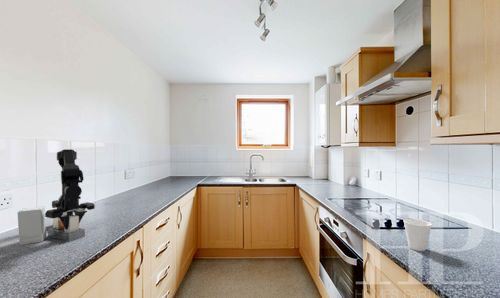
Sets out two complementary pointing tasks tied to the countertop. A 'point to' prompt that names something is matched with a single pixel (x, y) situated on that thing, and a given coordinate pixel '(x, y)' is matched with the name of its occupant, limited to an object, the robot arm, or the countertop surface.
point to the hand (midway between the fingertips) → (71, 228)
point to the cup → (417, 233)
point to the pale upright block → (73, 224)
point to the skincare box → (31, 225)
